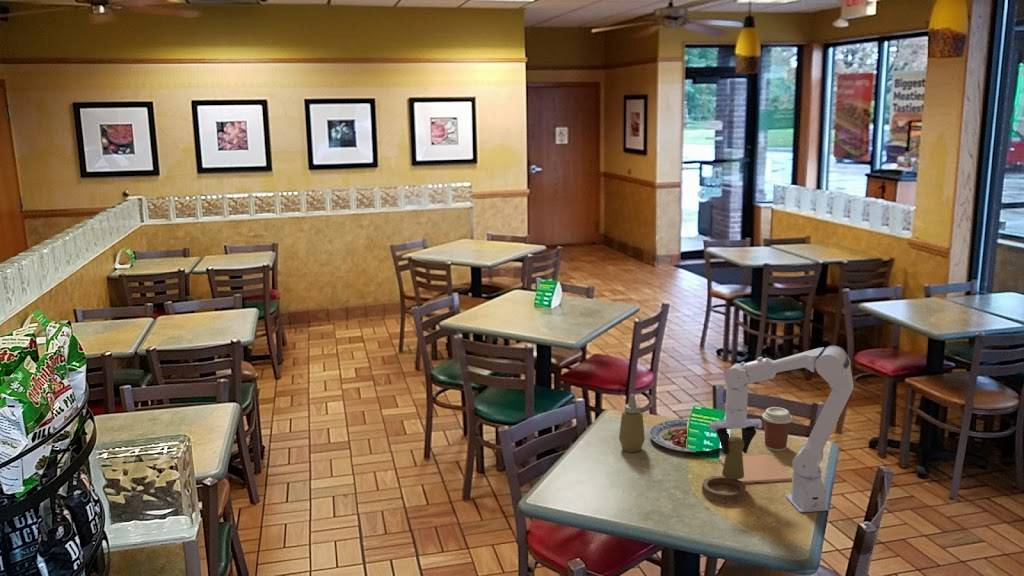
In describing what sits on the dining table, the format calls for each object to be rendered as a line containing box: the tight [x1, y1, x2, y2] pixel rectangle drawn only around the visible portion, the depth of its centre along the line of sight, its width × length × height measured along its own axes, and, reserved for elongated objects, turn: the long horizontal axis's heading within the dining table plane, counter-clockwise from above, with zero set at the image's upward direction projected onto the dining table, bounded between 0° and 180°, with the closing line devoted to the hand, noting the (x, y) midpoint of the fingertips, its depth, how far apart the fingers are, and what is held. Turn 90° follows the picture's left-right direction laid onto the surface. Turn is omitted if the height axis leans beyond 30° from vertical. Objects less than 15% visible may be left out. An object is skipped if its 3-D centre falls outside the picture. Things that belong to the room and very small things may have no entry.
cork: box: [721, 436, 745, 479], centre depth 231 cm, size 6×6×11 cm
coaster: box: [718, 454, 793, 485], centre depth 243 cm, size 16×16×1 cm
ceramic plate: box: [648, 418, 697, 453], centre depth 265 cm, size 26×26×3 cm
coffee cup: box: [761, 406, 793, 452], centre depth 257 cm, size 9×9×12 cm
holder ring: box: [701, 475, 747, 504], centre depth 229 cm, size 11×11×2 cm
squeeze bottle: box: [618, 393, 645, 453], centre depth 257 cm, size 8×8×18 cm
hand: (734, 452), depth 231 cm, fingers closed on cork, 5 cm apart
